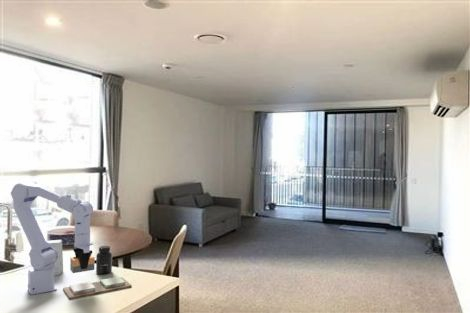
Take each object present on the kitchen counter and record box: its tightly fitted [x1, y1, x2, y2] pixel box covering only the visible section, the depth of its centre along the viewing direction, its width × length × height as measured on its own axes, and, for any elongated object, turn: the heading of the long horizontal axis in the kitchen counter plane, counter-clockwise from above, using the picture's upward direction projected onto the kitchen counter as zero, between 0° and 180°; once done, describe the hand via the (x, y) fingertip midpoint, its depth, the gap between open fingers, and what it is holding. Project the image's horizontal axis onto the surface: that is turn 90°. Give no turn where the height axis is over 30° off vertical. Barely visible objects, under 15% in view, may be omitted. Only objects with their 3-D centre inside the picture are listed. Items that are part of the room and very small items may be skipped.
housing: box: [69, 254, 95, 274], centre depth 151 cm, size 5×8×5 cm, turn 124°
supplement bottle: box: [95, 245, 113, 276], centre depth 175 cm, size 7×7×12 cm
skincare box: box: [41, 239, 64, 276], centre depth 173 cm, size 8×6×15 cm
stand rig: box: [62, 276, 133, 300], centre depth 155 cm, size 24×12×2 cm, turn 125°
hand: (82, 266), depth 151 cm, fingers closed on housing, 5 cm apart
